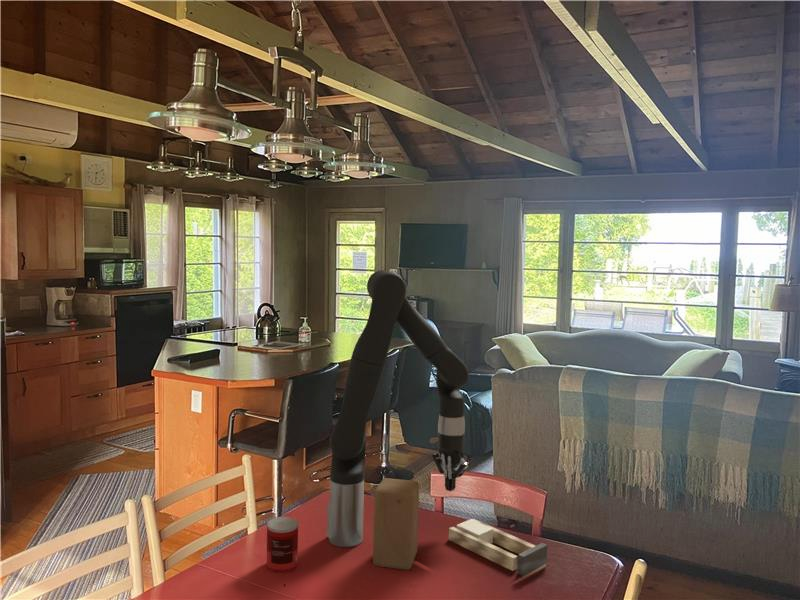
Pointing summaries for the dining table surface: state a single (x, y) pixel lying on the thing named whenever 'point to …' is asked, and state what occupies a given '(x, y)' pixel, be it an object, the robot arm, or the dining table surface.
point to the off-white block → (477, 530)
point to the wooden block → (395, 523)
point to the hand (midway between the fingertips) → (450, 490)
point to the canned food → (282, 544)
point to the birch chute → (528, 554)
